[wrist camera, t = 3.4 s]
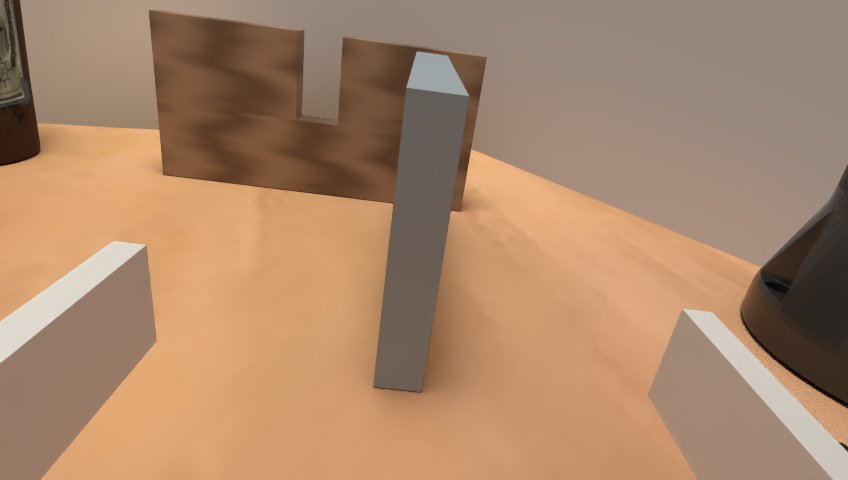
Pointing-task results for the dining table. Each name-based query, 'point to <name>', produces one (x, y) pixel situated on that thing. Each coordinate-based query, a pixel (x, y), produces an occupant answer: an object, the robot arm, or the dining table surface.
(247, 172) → the walnut slotted board
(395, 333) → the slate slotted plate
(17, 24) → the dark brown bottle
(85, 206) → the dining table surface
